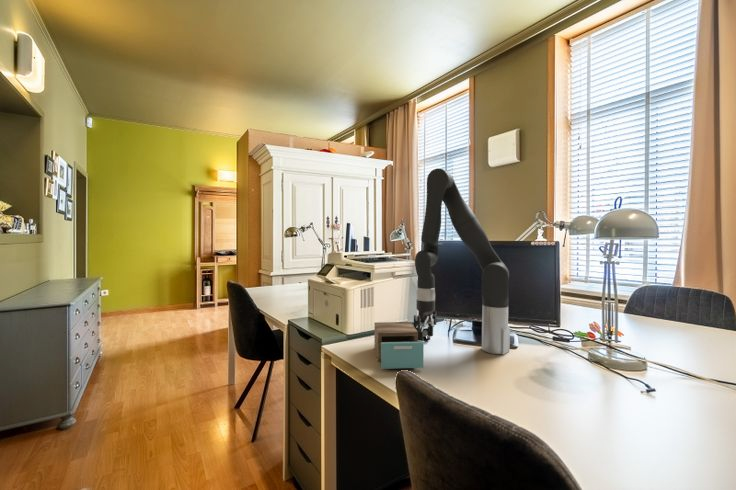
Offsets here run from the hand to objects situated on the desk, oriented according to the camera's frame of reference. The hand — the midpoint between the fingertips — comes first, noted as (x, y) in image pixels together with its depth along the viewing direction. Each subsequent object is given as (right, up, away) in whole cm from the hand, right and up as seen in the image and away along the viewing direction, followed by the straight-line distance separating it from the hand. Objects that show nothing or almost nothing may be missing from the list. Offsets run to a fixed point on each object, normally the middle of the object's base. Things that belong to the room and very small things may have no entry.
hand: (425, 338), depth 148 cm
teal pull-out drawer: (-13, -1, -26) cm, 29 cm away
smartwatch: (0, -1, 0) cm, 1 cm away
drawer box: (-14, -2, -16) cm, 21 cm away
